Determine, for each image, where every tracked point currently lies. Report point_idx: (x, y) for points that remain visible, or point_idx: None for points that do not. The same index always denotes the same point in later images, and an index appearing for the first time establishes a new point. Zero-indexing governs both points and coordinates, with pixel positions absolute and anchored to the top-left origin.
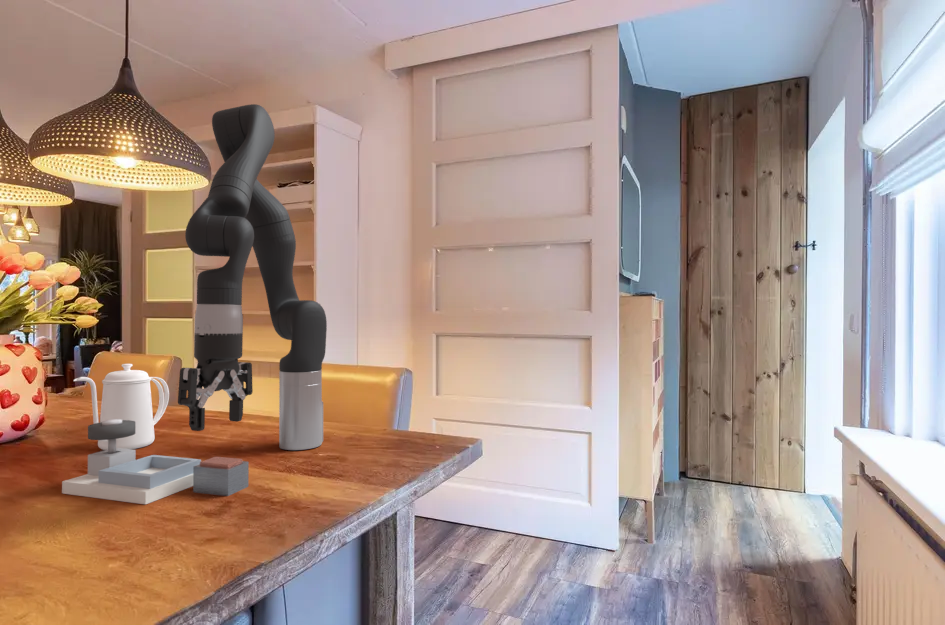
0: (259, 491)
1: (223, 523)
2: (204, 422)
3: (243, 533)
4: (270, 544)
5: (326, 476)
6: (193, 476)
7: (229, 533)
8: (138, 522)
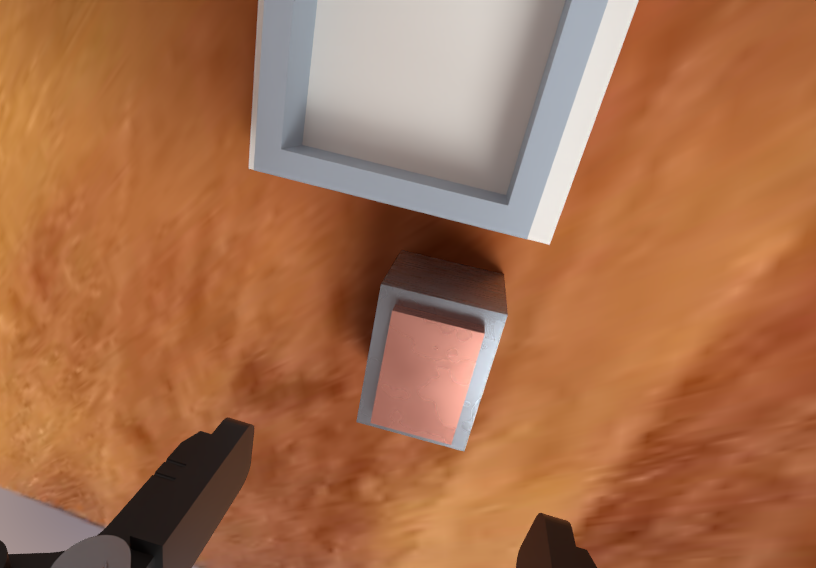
0: None
1: (210, 426)
2: (223, 514)
3: None
4: None
5: None
6: (390, 269)
7: None
8: (158, 237)
